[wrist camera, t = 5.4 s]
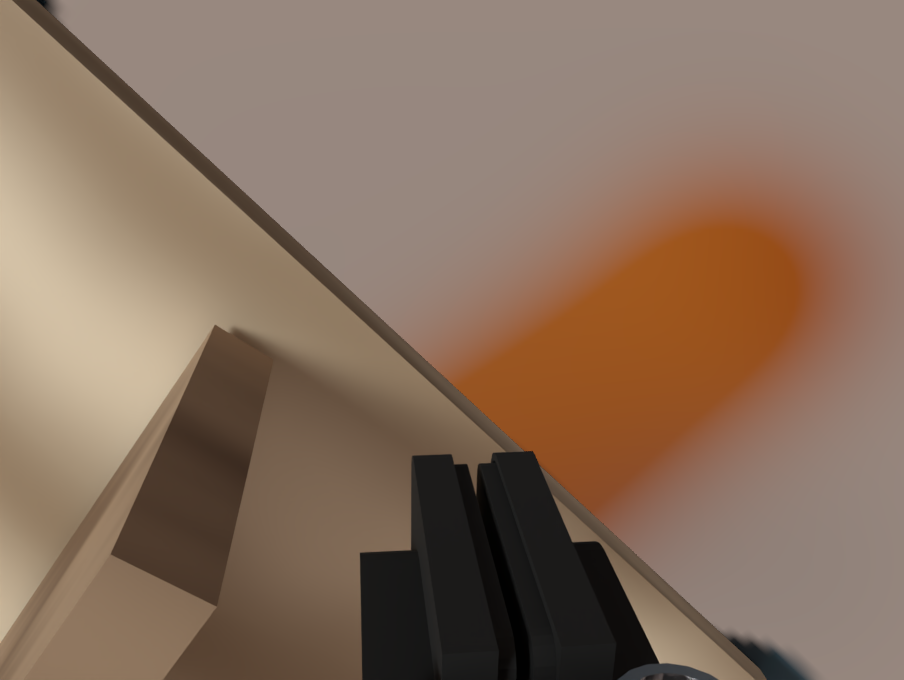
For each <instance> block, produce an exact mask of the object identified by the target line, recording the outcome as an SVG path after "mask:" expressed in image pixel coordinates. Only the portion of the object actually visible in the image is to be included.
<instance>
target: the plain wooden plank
mask: <svg viewBox="0 0 904 680" xmlns="http://www.w3.org/2000/svg"><path fill="white" fill-rule="evenodd" d="M272 365H273V359H272V358H270V357H268V356H267V355H265V354H263V353H262V352H260V351H258V350H257V349H255V348H253V347H252V346H250V345H248V344H247V343H245V342H243V341H242V340H240V339H238V338H237V337H235V336H233V335H232V334H230V333H228V332H227V331H225V330H223V329H222V328H220V327H218V326H217V325H214V327H213V328H212V330H211V331H210V333H209V334H208V335H207V337H206V338H205V340H204V341H203V343H202V344H201V346H200V347H199V349H198V350H197V352H196V353H195V355H194V356H193V358H192V359H191V361H190V362H189V364H188V365H187V367H186V368H185V370H184V371H183V373H182V374H181V376H180V377H179V379H178V380H177V382H176V383H175V384H174V386H173V387H172V389H171V390H170V392H169V393H168V395H167V396H166V398H165V399H164V401H163V402H162V404H161V405H160V407H159V408H158V410H157V411H156V413H155V414H154V416H153V417H152V419H151V420H150V422H149V423H148V425H147V426H146V428H145V429H144V431H143V432H142V433H141V435H140V436H139V438H138V439H137V441H136V442H135V444H134V445H133V447H132V448H131V450H130V451H129V453H128V454H127V456H126V457H125V459H124V460H123V462H122V463H121V465H120V466H119V468H118V469H117V471H116V472H115V474H114V475H113V477H112V478H111V480H110V481H109V482H108V484H107V485H106V487H105V488H104V490H103V491H102V493H101V494H100V496H99V497H98V499H97V500H96V502H95V503H94V505H93V506H92V508H91V509H90V511H89V512H88V514H87V515H86V517H85V518H84V520H83V521H82V523H81V524H80V526H79V527H78V529H77V530H76V531H75V533H74V534H73V536H72V537H71V539H70V540H69V542H68V543H67V545H66V546H65V548H64V549H63V551H62V552H61V554H60V555H59V557H58V558H57V560H56V561H55V563H54V564H53V566H52V567H51V569H50V570H49V572H48V573H47V575H46V576H45V578H44V579H43V580H42V582H41V583H40V585H39V586H38V588H37V589H36V591H35V592H34V594H33V595H32V597H31V598H30V600H29V601H28V603H27V604H26V606H25V607H24V609H23V610H22V612H21V613H20V615H19V616H18V618H17V619H16V621H15V622H14V624H13V625H12V627H11V628H10V629H9V631H8V632H7V634H6V635H5V637H4V638H3V640H2V641H1V643H0V680H163V679H164V677H165V676H166V675H167V673H168V672H169V671H170V669H171V668H172V667H173V665H174V664H175V663H176V661H177V660H178V659H179V657H180V656H181V655H182V653H183V652H184V651H185V649H186V648H187V646H188V645H189V644H190V642H191V641H192V640H193V638H194V637H195V636H196V634H197V633H198V632H199V630H200V629H201V628H202V626H203V625H204V624H205V622H206V621H207V620H208V618H209V617H210V615H211V614H212V613H213V611H214V610H215V609H216V607H217V604H218V600H219V596H220V591H221V587H222V583H223V578H224V574H225V569H226V565H227V561H228V556H229V552H230V548H231V543H232V539H233V535H234V530H235V526H236V522H237V517H238V513H239V508H240V504H241V500H242V495H243V491H244V487H245V482H246V478H247V474H248V469H249V465H250V461H251V456H252V452H253V447H254V443H255V439H256V434H257V430H258V426H259V421H260V417H261V413H262V408H263V404H264V400H265V395H266V391H267V386H268V382H269V378H270V373H271V369H272Z"/></svg>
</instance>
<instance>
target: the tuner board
mask: <svg viewBox="0 0 904 680" xmlns="http://www.w3.org/2000/svg"><path fill="white" fill-rule="evenodd" d="M214 325H217V326H218V327H220V328H222V329H223V330H225V331H227V332H228V333H230V334H232V335H233V336H235V337H237V338H238V339H240V340H242V341H243V342H245V343H247V344H248V345H250V346H252V347H253V348H255V349H257V350H258V351H260V352H262V353H263V354H265V355H267V356H268V357H270V358H272V359H273V365H272V369H271V373H270V378H269V382H268V386H267V391H266V395H265V400H264V404H263V408H262V413H261V417H260V421H259V426H258V430H257V434H256V439H255V443H254V447H253V452H252V456H251V461H250V465H249V469H248V474H247V478H246V482H245V487H244V491H243V495H242V500H241V504H240V508H239V513H238V517H237V522H236V526H235V530H234V535H233V539H232V543H231V548H230V552H229V556H228V561H227V565H226V569H225V574H224V578H223V583H222V587H221V591H220V596H219V600H218V604H217V607H216V609H215V610H214V611H213V613H212V614H211V615H210V617H209V618H208V620H207V621H206V622H205V624H204V625H203V626H202V628H201V629H200V630H199V632H198V633H197V634H196V636H195V637H194V638H193V640H192V641H191V642H190V644H189V645H188V646H187V648H186V649H185V651H184V652H183V653H182V655H181V656H180V657H179V659H178V660H177V661H176V663H175V664H174V665H173V667H172V668H171V669H170V671H169V672H168V673H167V675H166V676H165V677H164V679H163V680H362V641H361V589H360V553H361V552H382V551H402V550H411V461H412V456H414V455H442V454H452V457H453V461H454V464H467V465H468V468H469V472H470V475H471V479H472V483H473V486H474V490H475V494H476V487H477V468H478V464H479V463H491V458H492V454H493V453H497V452H524V451H523V450H522V449H521V448H520V447H519V446H518V445H517V444H516V443H515V442H514V441H513V440H512V439H510V438H509V437H508V436H507V435H506V434H505V433H504V432H503V431H502V430H501V429H500V428H498V427H497V426H496V425H495V424H494V423H493V422H492V421H491V420H490V419H489V418H488V417H487V416H485V414H483V413H482V412H481V411H480V410H479V409H478V408H477V407H476V406H475V405H474V404H473V403H472V402H470V401H469V400H468V399H467V398H466V397H465V396H464V395H463V394H462V393H461V392H459V390H457V389H456V388H455V387H454V386H453V385H452V384H451V383H450V382H449V381H448V380H447V379H445V378H444V377H443V376H442V375H441V374H440V373H439V372H438V371H437V370H436V369H435V368H434V367H432V366H431V365H430V364H429V363H428V362H427V361H426V360H425V359H424V358H423V357H422V356H421V355H420V354H418V353H417V352H416V351H415V350H414V349H413V348H412V347H411V346H410V345H409V344H408V343H407V342H405V341H404V340H403V339H402V338H401V337H400V336H399V335H398V334H397V333H396V332H395V331H394V330H392V329H391V328H390V327H389V326H388V325H387V324H386V323H385V322H384V321H383V320H382V319H381V318H380V317H378V316H377V315H376V314H375V313H374V312H373V311H372V310H371V309H370V308H369V307H368V306H367V305H365V304H364V303H363V302H362V301H361V300H360V299H359V298H358V297H357V296H356V295H355V294H353V293H352V292H351V291H350V290H349V289H348V288H347V287H346V286H345V285H344V284H343V283H342V282H341V281H339V280H338V279H337V278H336V277H335V276H334V275H333V274H332V273H331V272H330V271H329V270H328V269H326V268H325V267H324V266H323V265H322V264H321V263H320V262H319V261H318V260H317V259H316V258H315V257H314V256H312V255H311V254H310V253H309V252H308V251H307V250H306V249H305V248H304V247H303V246H302V245H301V244H299V243H298V242H297V241H296V240H295V239H294V238H293V237H292V236H291V235H290V234H289V233H287V232H286V231H285V230H284V229H283V228H282V227H281V226H280V225H279V224H278V223H277V222H276V221H275V220H273V219H272V218H271V217H270V216H269V215H268V214H267V213H266V212H265V211H264V210H263V209H262V208H260V207H259V206H258V205H257V204H256V203H255V202H254V201H253V200H252V199H251V198H250V197H249V196H247V195H246V194H245V193H244V192H243V191H242V190H241V189H240V188H239V187H238V186H237V185H235V183H233V182H232V181H231V180H230V179H229V178H228V177H227V176H226V175H225V174H224V173H223V172H221V171H220V170H219V169H218V168H217V167H216V166H215V165H214V164H213V163H212V162H211V161H210V160H209V159H207V158H206V157H205V156H204V155H203V154H202V153H201V152H200V151H199V150H198V149H196V147H194V146H193V145H192V144H191V143H190V142H189V141H188V140H187V139H186V138H185V137H184V136H183V135H181V134H180V133H179V132H178V131H177V130H176V129H175V128H174V127H173V126H172V125H171V124H170V123H168V122H167V121H166V120H165V119H164V118H163V117H162V116H161V115H160V114H159V113H158V112H156V111H155V110H154V109H153V108H152V107H151V106H150V105H149V104H148V103H147V102H146V101H145V100H144V99H143V98H141V97H140V96H139V95H138V94H137V93H136V92H135V91H134V90H133V89H132V88H131V87H130V86H128V85H127V84H126V83H125V82H124V81H123V80H122V79H121V78H120V77H119V76H117V75H116V74H115V73H114V72H113V71H112V70H111V69H110V68H109V67H108V66H106V64H105V63H104V62H102V61H101V60H100V59H99V58H98V57H97V56H96V55H95V54H94V53H93V52H92V51H91V50H89V49H88V48H87V47H86V46H85V45H84V44H83V43H82V42H81V41H80V40H79V39H78V38H77V37H75V36H74V35H73V34H72V33H71V32H70V31H69V30H68V29H67V28H66V27H65V26H64V25H62V24H61V23H60V22H59V21H58V20H57V19H56V18H55V17H54V16H53V15H52V14H51V13H49V12H48V11H47V10H46V9H45V8H44V7H43V6H42V5H41V4H40V3H39V2H38V1H36V0H0V643H1V641H2V640H3V638H4V637H5V635H6V634H7V632H8V631H9V629H10V628H11V627H12V625H13V624H14V622H15V621H16V619H17V618H18V616H19V615H20V613H21V612H22V610H23V609H24V607H25V606H26V604H27V603H28V601H29V600H30V598H31V597H32V595H33V594H34V592H35V591H36V589H37V588H38V586H39V585H40V583H41V582H42V580H43V579H44V578H45V576H46V575H47V573H48V572H49V570H50V569H51V567H52V566H53V564H54V563H55V561H56V560H57V558H58V557H59V555H60V554H61V552H62V551H63V549H64V548H65V546H66V545H67V543H68V542H69V540H70V539H71V537H72V536H73V534H74V533H75V531H76V530H77V529H78V527H79V526H80V524H81V523H82V521H83V520H84V518H85V517H86V515H87V514H88V512H89V511H90V509H91V508H92V506H93V505H94V503H95V502H96V500H97V499H98V497H99V496H100V494H101V493H102V491H103V490H104V488H105V487H106V485H107V484H108V482H109V481H110V480H111V478H112V477H113V475H114V474H115V472H116V471H117V469H118V468H119V466H120V465H121V463H122V462H123V460H124V459H125V457H126V456H127V454H128V453H129V451H130V450H131V448H132V447H133V445H134V444H135V442H136V441H137V439H138V438H139V436H140V435H141V433H142V432H143V431H144V429H145V428H146V426H147V425H148V423H149V422H150V420H151V419H152V417H153V416H154V414H155V413H156V411H157V410H158V408H159V407H160V405H161V404H162V402H163V401H164V399H165V398H166V396H167V395H168V393H169V392H170V390H171V389H172V387H173V386H174V384H175V383H176V382H177V380H178V379H179V377H180V376H181V374H182V373H183V371H184V370H185V368H186V367H187V365H188V364H189V362H190V361H191V359H192V358H193V356H194V355H195V353H196V352H197V350H198V349H199V347H200V346H201V344H202V343H203V341H204V340H205V338H206V337H207V335H208V334H209V333H210V331H211V330H212V328H213V327H214ZM539 466H540V465H539ZM540 468H541V470H542V473H543V475H544V477H545V480H546V482H547V484H548V487H549V489H550V491H551V494H552V496H553V498H554V500H555V503H556V505H557V507H558V510H559V512H560V514H561V517H562V519H563V521H564V524H565V526H566V528H567V531H568V533H569V535H570V537H571V540H572V542H587V541H597V542H599V543H600V544H601V545H602V547H603V548H604V550H605V552H606V554H607V556H608V558H609V560H610V562H611V564H612V566H613V569H614V571H615V573H616V575H617V577H618V579H619V581H620V583H621V585H622V587H623V589H624V591H625V593H626V595H627V597H628V599H629V601H630V603H631V605H632V608H633V610H634V612H635V614H636V616H637V618H638V620H639V622H640V624H641V626H642V628H643V630H644V632H645V634H646V636H647V638H648V640H649V642H650V644H651V647H652V649H653V651H654V653H655V655H656V657H657V659H658V661H659V663H660V664H661V663H670V664H676V665H683V666H689V667H692V668H694V669H697V670H700V671H703V672H705V673H708V674H710V675H712V676H714V677H715V678H717V679H718V680H767V679H766V678H765V676H764V675H763V673H762V671H761V670H760V669H759V668H758V667H757V666H756V665H755V664H754V663H753V662H752V661H751V660H750V659H749V658H747V657H746V656H745V655H744V654H743V653H742V652H741V651H740V650H739V649H738V648H737V647H736V646H735V645H733V644H732V643H731V642H730V641H729V640H728V639H727V638H726V637H725V636H724V635H723V634H722V633H720V632H719V631H718V630H717V629H716V628H715V627H714V626H713V625H712V624H711V623H710V622H709V621H707V620H706V619H705V618H704V617H703V616H702V615H701V614H700V613H699V612H698V611H696V610H695V609H694V608H693V607H692V606H691V605H690V604H689V603H688V602H687V601H686V600H685V599H684V598H683V597H681V596H680V595H679V594H678V593H677V592H676V591H675V590H674V589H673V588H672V587H671V586H669V585H668V584H667V583H666V582H665V581H664V580H663V579H662V578H661V577H660V576H659V575H658V574H657V573H655V572H654V571H653V570H652V569H651V568H650V567H649V566H648V565H647V564H646V563H645V562H643V561H642V560H641V559H640V558H639V557H638V556H637V555H636V554H635V553H634V552H633V551H632V550H631V549H630V548H628V547H627V546H626V545H625V544H624V543H623V542H622V541H621V540H620V539H618V537H617V536H615V535H614V534H613V533H612V532H611V531H610V530H609V529H608V528H607V527H606V526H605V525H604V524H602V523H601V522H600V521H599V520H598V519H597V518H596V517H595V516H594V515H593V514H591V512H589V511H588V510H587V509H586V508H585V507H584V506H583V505H582V504H581V503H580V502H579V501H578V500H576V499H575V498H574V497H573V496H572V495H571V494H570V493H569V492H568V491H567V490H566V489H565V488H564V487H562V486H561V485H560V484H559V483H558V482H557V481H556V480H555V479H554V478H553V477H552V476H551V475H549V474H548V473H547V472H546V471H545V470H544V469H543V468H542V467H541V466H540Z"/></svg>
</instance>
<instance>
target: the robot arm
mask: <svg viewBox="0 0 904 680" xmlns="http://www.w3.org/2000/svg"><path fill="white" fill-rule="evenodd" d="M360 589H361V641H362V680H718V679H717V678H715V677H714V676H712V675H710V674H708V673H705V672H703V671H700V670H697V669H694V668H692V667H689V666H683V665H676V664H670V663H661V664H660V663H659V661H658V659H657V657H656V655H655V653H654V651H653V649H652V647H651V644H650V642H649V640H648V638H647V636H646V634H645V632H644V630H643V628H642V626H641V624H640V622H639V620H638V618H637V616H636V614H635V612H634V610H633V608H632V605H631V603H630V601H629V599H628V597H627V595H626V593H625V591H624V589H623V587H622V585H621V583H620V581H619V579H618V577H617V575H616V573H615V571H614V569H613V566H612V564H611V562H610V560H609V558H608V556H607V554H606V552H605V550H604V548H603V547H602V545H601V544H600V543H599V542H597V541H587V542H572V540H571V537H570V535H569V533H568V531H567V528H566V526H565V524H564V521H563V519H562V517H561V514H560V512H559V510H558V507H557V505H556V503H555V500H554V498H553V496H552V494H551V491H550V489H549V487H548V484H547V482H546V480H545V477H544V475H543V473H542V470H541V468H540V466H539V463H538V461H537V459H536V457H535V454H534V453H533V451H524V452H497V453H493V454H492V458H491V463H479V464H478V468H477V487H476V494H475V490H474V486H473V483H472V479H471V475H470V472H469V468H468V465H467V464H454V461H453V457H452V454H442V455H414V456H412V461H411V550H402V551H382V552H361V553H360Z"/></svg>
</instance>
